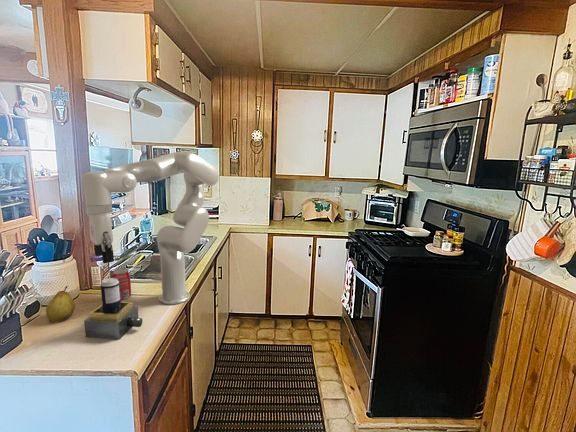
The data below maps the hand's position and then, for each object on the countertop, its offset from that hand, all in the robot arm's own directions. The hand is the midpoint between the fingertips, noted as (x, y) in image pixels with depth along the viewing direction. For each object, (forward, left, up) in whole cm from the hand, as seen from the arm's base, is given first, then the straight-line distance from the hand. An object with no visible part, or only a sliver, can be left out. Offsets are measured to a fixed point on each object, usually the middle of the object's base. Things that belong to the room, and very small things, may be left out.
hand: (104, 258), depth 111 cm
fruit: (-4, -21, -26) cm, 33 cm away
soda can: (-23, -9, -26) cm, 35 cm away
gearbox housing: (+1, +4, -25) cm, 26 cm away
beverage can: (+1, +2, -20) cm, 20 cm away
